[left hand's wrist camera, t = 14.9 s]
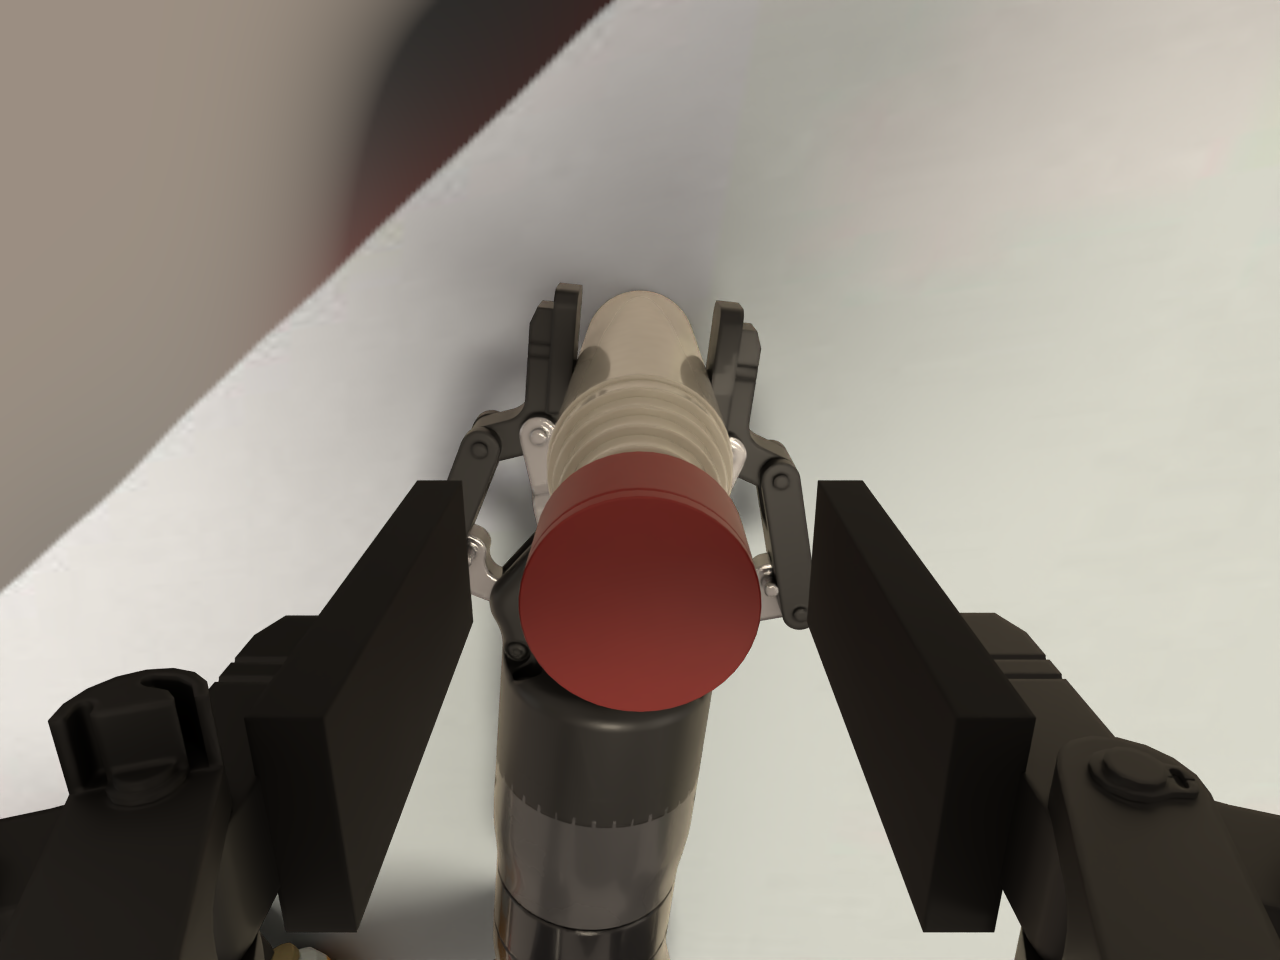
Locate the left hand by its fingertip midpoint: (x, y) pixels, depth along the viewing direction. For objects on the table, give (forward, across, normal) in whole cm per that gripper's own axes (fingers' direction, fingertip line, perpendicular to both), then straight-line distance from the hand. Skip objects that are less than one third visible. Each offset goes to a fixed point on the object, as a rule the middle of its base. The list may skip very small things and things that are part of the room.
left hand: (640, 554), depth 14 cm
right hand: (+12, 0, -3) cm, 13 cm away
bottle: (+19, 0, 0) cm, 19 cm away
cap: (-2, 0, 0) cm, 2 cm away
